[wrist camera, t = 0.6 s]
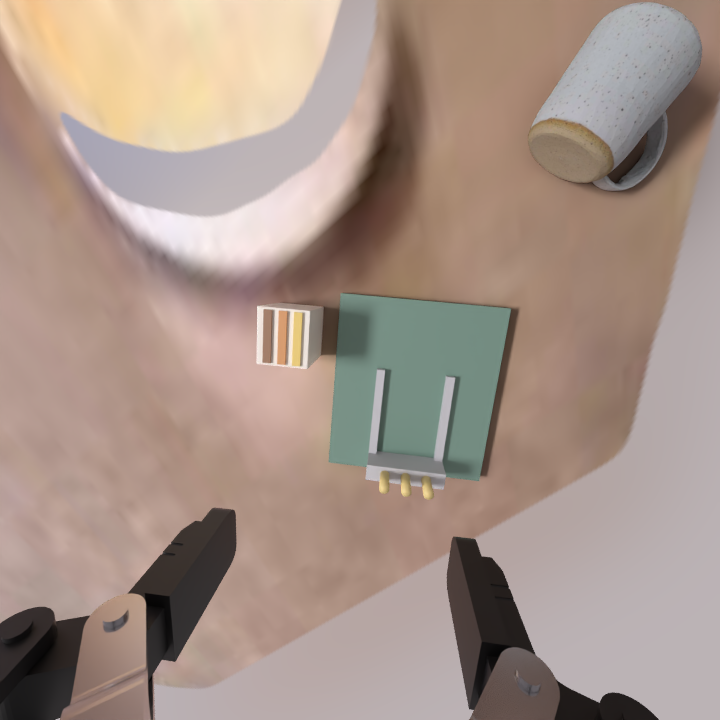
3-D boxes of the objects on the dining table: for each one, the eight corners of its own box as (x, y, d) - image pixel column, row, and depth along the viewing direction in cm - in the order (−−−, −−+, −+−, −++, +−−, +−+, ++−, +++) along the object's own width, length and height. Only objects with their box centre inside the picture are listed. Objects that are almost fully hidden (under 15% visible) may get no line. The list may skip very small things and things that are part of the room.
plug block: (280, 302, 34) (256, 306, 28) (324, 306, 33) (309, 311, 27) (278, 350, 35) (255, 364, 29) (321, 355, 34) (306, 369, 28)
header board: (342, 293, 33) (330, 294, 27) (507, 307, 32) (536, 313, 26) (330, 457, 37) (318, 492, 31) (476, 475, 36) (494, 515, 30)
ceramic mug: (507, 152, 29) (549, 107, 22) (570, 55, 27) (640, -31, 20) (604, 219, 30) (678, 198, 22) (673, 130, 28) (779, 73, 20)
